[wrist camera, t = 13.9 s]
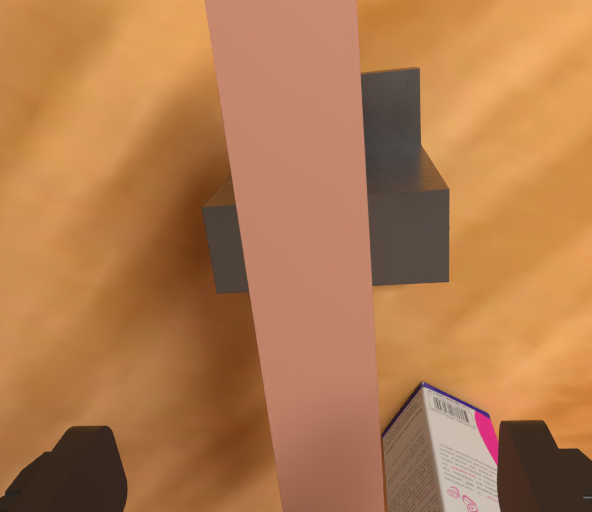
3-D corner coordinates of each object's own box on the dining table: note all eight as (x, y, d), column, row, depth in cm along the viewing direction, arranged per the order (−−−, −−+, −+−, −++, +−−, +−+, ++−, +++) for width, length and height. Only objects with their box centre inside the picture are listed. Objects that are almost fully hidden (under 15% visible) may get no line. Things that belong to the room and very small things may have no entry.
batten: (311, 467, 26) (297, 605, 20) (244, -85, 17) (180, -157, 11) (381, 467, 26) (389, 608, 19) (349, -100, 17) (346, -186, 11)
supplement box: (379, 436, 39) (388, 582, 28) (421, 379, 37) (448, 515, 26) (446, 468, 39) (479, 624, 29) (492, 413, 37) (546, 562, 27)
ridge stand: (266, 273, 35) (230, 369, 25) (240, 85, 30) (183, 108, 20) (420, 265, 33) (448, 362, 23) (416, 67, 29) (449, 81, 19)
